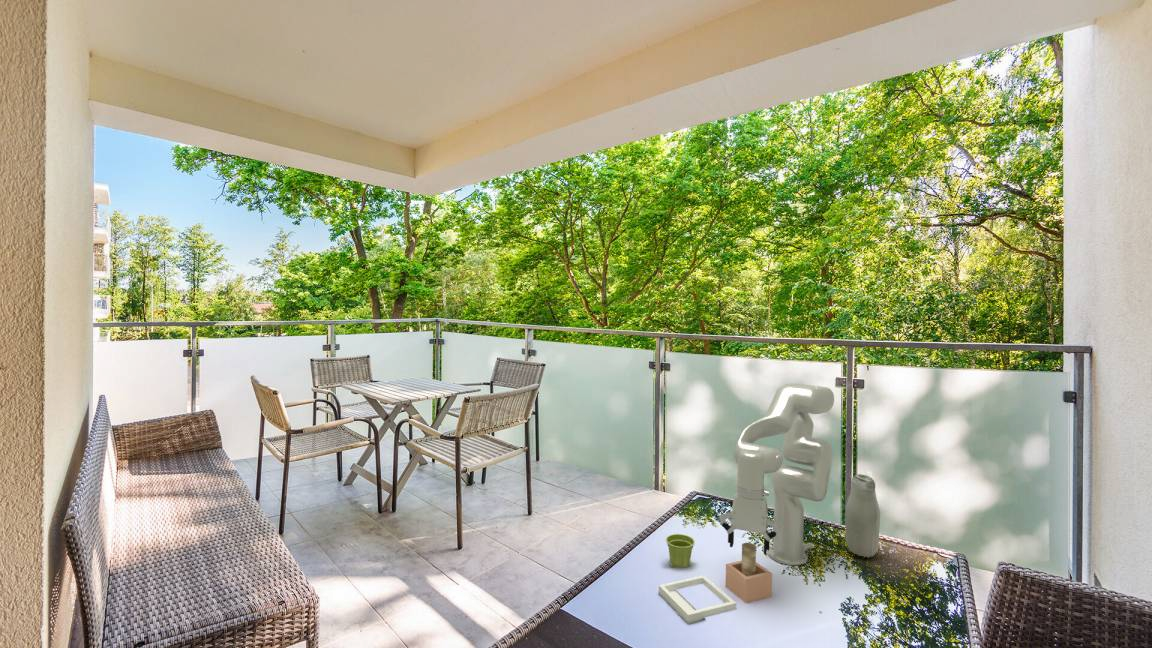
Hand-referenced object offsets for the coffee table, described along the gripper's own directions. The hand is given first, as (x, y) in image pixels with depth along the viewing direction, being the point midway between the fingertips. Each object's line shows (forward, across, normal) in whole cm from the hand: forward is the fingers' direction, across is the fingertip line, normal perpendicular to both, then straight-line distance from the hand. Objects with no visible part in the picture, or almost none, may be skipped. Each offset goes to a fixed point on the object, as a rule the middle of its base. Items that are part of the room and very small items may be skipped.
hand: (748, 548), depth 159 cm
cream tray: (+15, +13, +10) cm, 22 cm away
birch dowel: (+13, 0, -1) cm, 13 cm away
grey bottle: (+13, -34, -43) cm, 56 cm away
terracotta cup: (+14, 0, -1) cm, 14 cm away
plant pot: (+14, +22, -9) cm, 28 cm away
